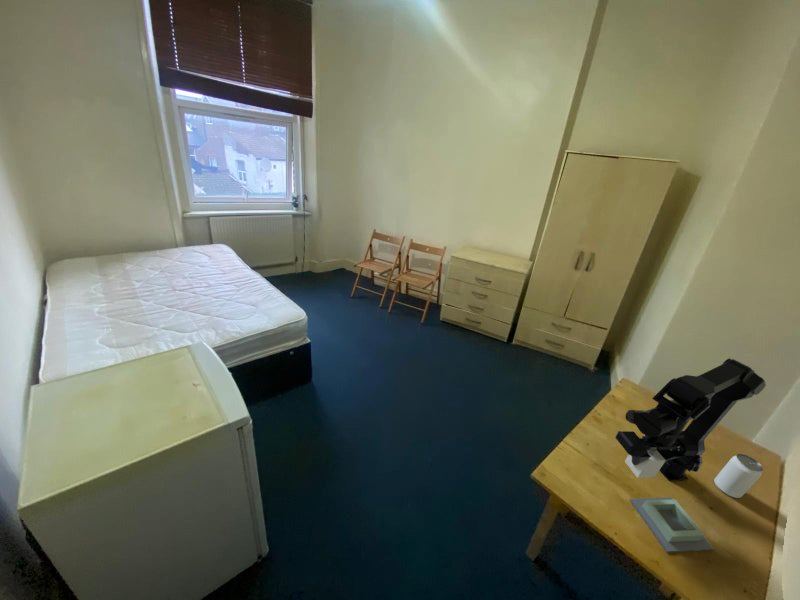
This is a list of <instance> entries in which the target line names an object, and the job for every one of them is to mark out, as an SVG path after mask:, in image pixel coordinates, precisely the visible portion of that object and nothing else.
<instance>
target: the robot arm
mask: <svg viewBox="0 0 800 600" xmlns="http://www.w3.org/2000/svg"><path fill="white" fill-rule="evenodd" d="M766 386H767V385H766V381H765V380H764V378H763V377H761V376H760V375H758V374H757V373H756V372H755V370H754V369H752V367H750V366H749V365H746V364H744V363H742V362H740V361H738V360H736V359H732V358H727V359H725V360H724V361H723V363H722V364H720V365H718V366H716V367H714V368H712V369H710V370H707V371H705V372H704V373H702V374H700V375H696V376H695V375H689V374H686V375H682V376H679V377H677V378H676V377H675V378H672V379H671V380H669V381H668V382H666V384H665V385H664V386H663V387H662V388H661V389H660V390H659V391H658V392H657V393H656V394H655V395H654V396H653V397H652V400H653V401H655V402H656V403H657V405H656V406H655V407H652V408H650V409H646V410H637V409H636V410H635V409H628V410H627V412H626V413H625V417H624V418H625V420H626V421H627V422H629V423H630V424H632V425H635V426H636V427H637V429H638V431H639V432H640V433H641V434H643V435H642V436H641V437H639V435H637V433H636V432H635V431H633V430H632V431H629V430H618V431H617V433H616V435H615V437H614V438H615V439H616V441H618V443H619V444H620V446H621V447H622V448H623V450H625V452H626V453H627V455H631V456H632V463H633V464H634V465H635V466H636V465H638V464H640V463H642V462H643V461H645V460H647V459H648V458H650V457H651V456H650V455H649V454H648V451H650V448H655V449H656V450H657V451H658V452H659V453H660V454H661V455H662V457H663V458H664V459H665V460H666V461H665V463H664V464H663V466H662V467H661V469H660V470H659V472H661V473H662V474H663V475H664V476H665V478H666V479H667V480H668V481H673V482H674V481H675V482H676V481H687V480H689V478H688V477H687V476H686V471H688V472H695V473H696V472H698V471H699V469H700V468H701V466H702V464H703V463H704V461H703V457H702V455H703V454H704V453H705V451H706V449H705V447H706V446H705V439H707V437H708V436H709V435H710V434H711V432H712V431H713V430H714V429H715V428H716V426H717V425H719V423H720V422H721V421H722V420H723V419H724V417H725V416H726V415H727V414H728V413H729V412H730V411H731V409H732V408H733V407H734V406H735V404H736V403H738V402H739V401H743V400H746V399H747V400H749V399H751V398H753V397H754V396H757V395H758V394H760V393H762V391H763V390H764V389H765V388H766ZM665 396H667V397H668V398H670V399H671V400H670V399H668V398H667V397H665ZM690 421H691V422H690ZM689 422H690V423H689ZM688 423H689V424H688Z"/></svg>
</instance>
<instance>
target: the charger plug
mask: <svg viewBox="0 0 800 600" xmlns="http://www.w3.org/2000/svg"><path fill="white" fill-rule="evenodd" d="M648 454H649V455H650V456H651V457H650V458H648V459H647V460H645V461H643V462H642V463H640V464H638V465H636V466H635V465H634V464H633V463H632V456H631V455H629V454H627V456H626V458H625V459H624V462H625V464H626V465H627V466H628V467H629V469H630V471H631V472H632V473H633V474H634V475H635V477H636V478H637V479H641V478H642V479H644V478H645V479H648V478H650V479H651V478H654V479H655V477H656V476H657V475H658V473H659V472H660V469H661V467H662V466H663V464H664V463H665V461H666V460H665V459H664V458H663V457H662V455H661V454H660V453H659V452H658V451H657V450H656V448H650V451H648Z"/></svg>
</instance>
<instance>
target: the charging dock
mask: <svg viewBox="0 0 800 600" xmlns="http://www.w3.org/2000/svg"><path fill="white" fill-rule="evenodd" d="M629 502H630V503H631V504H632V506H633V507H634V509H635V510H636V512H637V513H638V514H639V516H640V518H642V520H643V521H644V523H645V524H646V525H647V527H648V528H649V530H650V532H651V533H652V534H653V535H654V537H655V538H656V540H657V541H658V543H659V544H660V545H661V547H662V548H663V550H664V551H665V553H683V552H684V553H686V552H699V551H700V552H703V551H714V547H713V546H712V544H710V542H709V541H708V539H706V537H705V533H704V532H703V531H702V530H701V528H700V527H698V525H697V523H695V521H694V520H693V519H692V517H691V516H689V514H688V513H687V512H686V510H685V509H684V508H683V507H682V506H681V505H680V503H678V501H677V500H676V499H674V498H673V497H648V498H647V497H645V498H630V499H629Z"/></svg>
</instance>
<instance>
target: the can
mask: <svg viewBox="0 0 800 600" xmlns="http://www.w3.org/2000/svg"><path fill="white" fill-rule="evenodd" d="M763 471H764V467H763V466H762V464H761V463H760V462H759V461H757V460H756V459H755V458H753V457H752V456H749V455H747V454H743V453H737V454H736V455H734V456H733V455H732V457H731V458H730V459H729V461H728V462H727V463H726V464H725V465H724V467H723V468H722V469H721V470H720V472H719V473H718V474H717V475H716V476H715V478H714V481H713V482H714V484H715V486H716V488H718V489H719V490H720V492H722V493H724V494H725V495H727V496H729V497H731V498H735V499H740V498H742V497H744V495H745V494H746V493H747V492H748V491H749V490H750V488H751V487H752V486H753V485H754V484H755V483H756V482H757V481H758V480H759V479H760V477H761V476H762V475H763Z"/></svg>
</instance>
